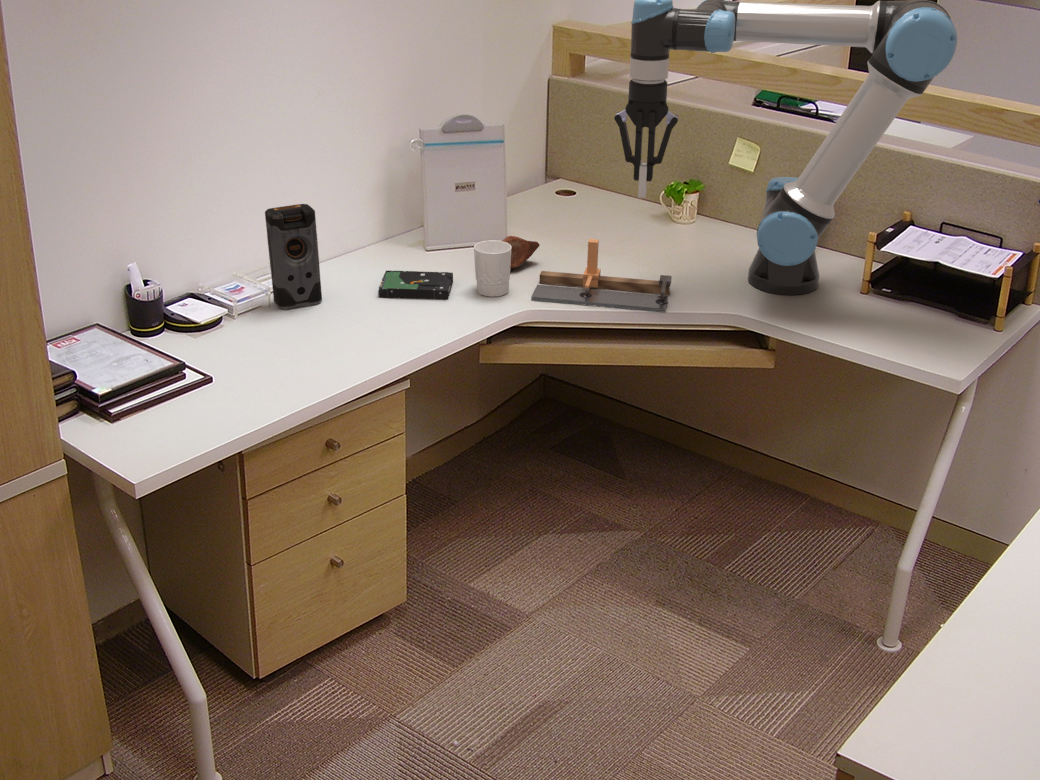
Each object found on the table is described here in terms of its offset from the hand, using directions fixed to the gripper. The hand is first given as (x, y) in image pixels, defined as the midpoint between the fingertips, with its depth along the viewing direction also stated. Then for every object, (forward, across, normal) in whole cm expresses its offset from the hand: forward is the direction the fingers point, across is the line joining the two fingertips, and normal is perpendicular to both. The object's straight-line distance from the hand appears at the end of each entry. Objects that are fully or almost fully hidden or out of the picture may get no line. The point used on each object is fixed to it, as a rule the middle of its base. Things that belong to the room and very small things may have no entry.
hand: (642, 195), depth 223 cm
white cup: (+21, +30, +8) cm, 37 cm away
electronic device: (+20, +68, +23) cm, 75 cm away
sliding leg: (+20, +10, +4) cm, 22 cm away
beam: (+21, +7, +4) cm, 22 cm away
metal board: (+21, +7, +8) cm, 23 cm away
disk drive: (+21, +46, +11) cm, 52 cm away
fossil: (+21, +29, -7) cm, 36 cm away
